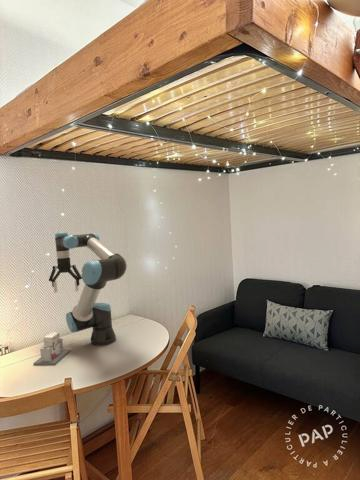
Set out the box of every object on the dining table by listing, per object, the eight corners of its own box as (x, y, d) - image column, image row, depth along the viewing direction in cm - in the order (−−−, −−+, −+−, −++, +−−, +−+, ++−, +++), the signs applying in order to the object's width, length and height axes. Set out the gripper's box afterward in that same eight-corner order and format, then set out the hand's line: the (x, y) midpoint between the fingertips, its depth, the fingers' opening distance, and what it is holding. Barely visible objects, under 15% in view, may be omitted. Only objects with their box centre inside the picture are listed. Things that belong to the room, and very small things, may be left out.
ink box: (53, 359, 176) (51, 337, 175) (44, 359, 177) (42, 337, 176) (61, 352, 184) (59, 331, 184) (53, 352, 185) (51, 331, 185)
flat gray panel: (70, 351, 189) (69, 335, 188) (55, 365, 171) (53, 347, 170) (51, 351, 190) (49, 335, 190) (33, 365, 173) (31, 348, 172)
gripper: (85, 255, 206) (88, 289, 207) (46, 257, 208) (49, 291, 209) (81, 257, 198) (83, 291, 200) (40, 259, 200) (44, 293, 202)
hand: (66, 291), depth 204 cm, fingers open, 13 cm apart
